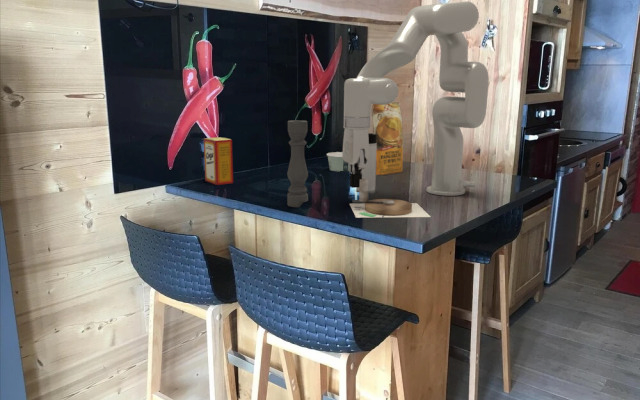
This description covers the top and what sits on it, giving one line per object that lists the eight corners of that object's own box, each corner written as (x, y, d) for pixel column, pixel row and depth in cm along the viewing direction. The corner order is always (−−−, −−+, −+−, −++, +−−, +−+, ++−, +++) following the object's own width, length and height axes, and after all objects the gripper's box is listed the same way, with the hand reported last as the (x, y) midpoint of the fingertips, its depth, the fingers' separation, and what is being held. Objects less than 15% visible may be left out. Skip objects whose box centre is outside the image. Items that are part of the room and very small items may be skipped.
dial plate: (416, 208, 160) (416, 202, 159) (430, 222, 144) (430, 216, 144) (349, 208, 158) (349, 202, 158) (355, 222, 143) (356, 216, 142)
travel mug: (360, 195, 176) (361, 133, 172) (353, 191, 183) (355, 131, 178) (378, 194, 178) (380, 133, 174) (371, 190, 184) (372, 131, 180)
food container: (322, 168, 229) (322, 152, 227) (349, 166, 232) (349, 151, 231) (331, 172, 217) (331, 156, 216) (359, 171, 221) (359, 155, 220)
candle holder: (307, 202, 166) (308, 120, 160) (308, 207, 159) (308, 122, 154) (287, 202, 165) (287, 120, 160) (287, 207, 159) (286, 121, 154)
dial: (412, 205, 156) (413, 177, 154) (410, 216, 143) (412, 186, 142) (355, 202, 159) (356, 175, 157) (349, 212, 147) (349, 183, 145)
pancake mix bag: (364, 174, 215) (366, 102, 208) (396, 169, 227) (399, 101, 220) (376, 176, 210) (378, 103, 203) (409, 171, 222) (412, 102, 215)
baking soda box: (205, 180, 199) (203, 137, 195) (221, 178, 202) (220, 136, 199) (216, 185, 191) (215, 139, 188) (233, 183, 195) (231, 138, 191)
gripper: (336, 121, 158) (335, 182, 162) (353, 125, 144) (351, 192, 148) (360, 120, 160) (359, 181, 164) (379, 125, 146) (377, 191, 150)
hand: (355, 186), depth 156 cm, fingers closed
